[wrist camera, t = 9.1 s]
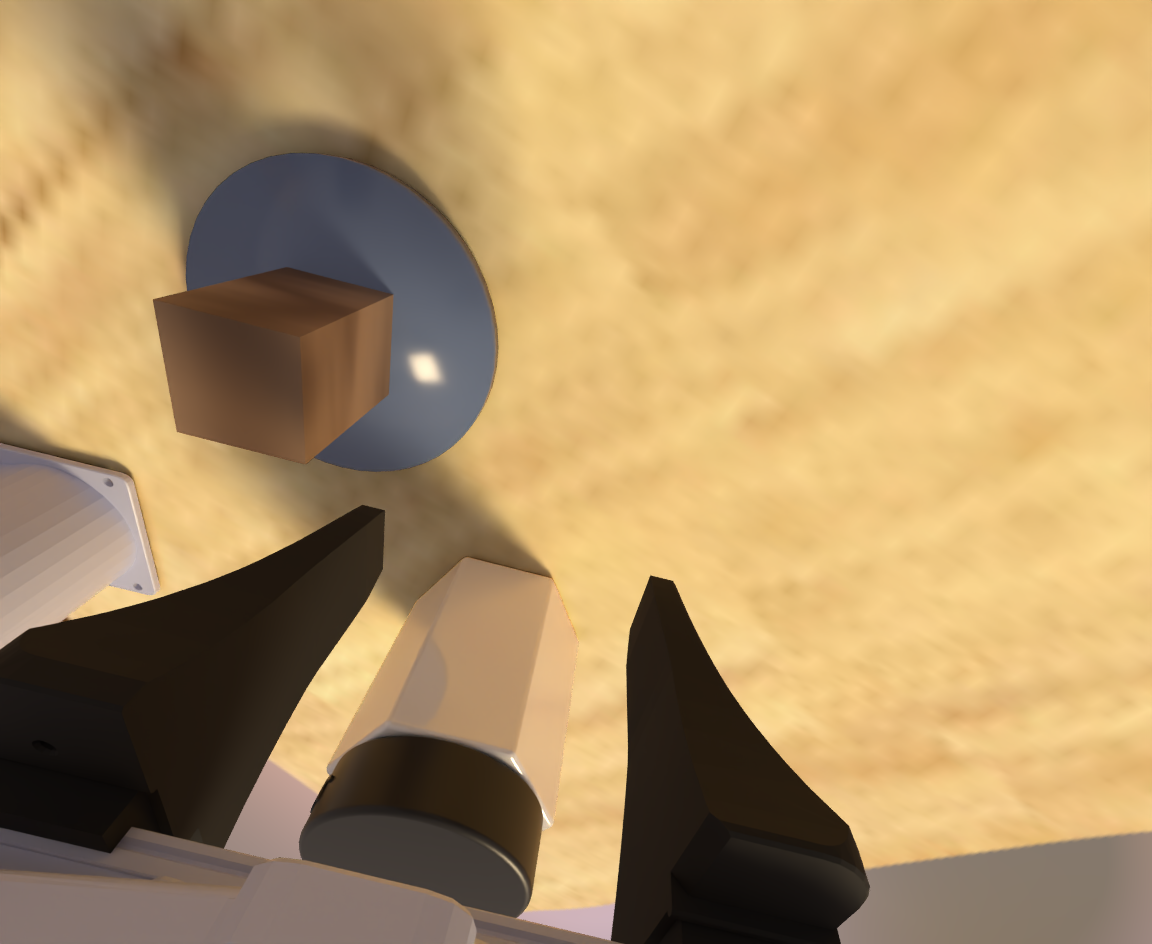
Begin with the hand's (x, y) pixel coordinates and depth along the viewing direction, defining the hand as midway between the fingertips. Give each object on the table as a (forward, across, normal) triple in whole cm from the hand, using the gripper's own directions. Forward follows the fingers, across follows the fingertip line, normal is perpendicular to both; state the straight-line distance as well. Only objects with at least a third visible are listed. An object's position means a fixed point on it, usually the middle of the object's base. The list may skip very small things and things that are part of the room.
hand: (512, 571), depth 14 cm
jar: (+10, +1, +12) cm, 15 cm away
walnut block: (+8, +9, -2) cm, 12 cm away
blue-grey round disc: (+9, +9, -2) cm, 13 cm away
